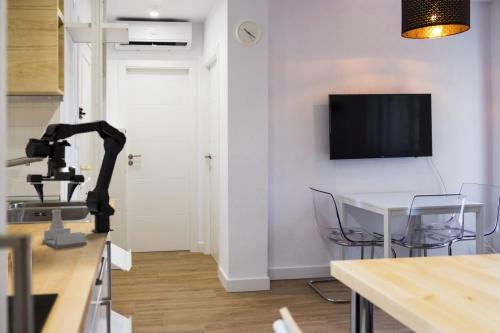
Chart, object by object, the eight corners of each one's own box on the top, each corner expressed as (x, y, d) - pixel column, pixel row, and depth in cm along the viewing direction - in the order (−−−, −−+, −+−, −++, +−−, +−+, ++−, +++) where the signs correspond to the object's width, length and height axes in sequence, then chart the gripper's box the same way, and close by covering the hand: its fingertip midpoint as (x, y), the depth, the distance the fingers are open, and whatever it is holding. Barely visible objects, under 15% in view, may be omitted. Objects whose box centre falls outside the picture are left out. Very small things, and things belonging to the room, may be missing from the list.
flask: (71, 236, 195) (70, 208, 194) (62, 239, 187) (61, 211, 187) (52, 235, 195) (51, 208, 195) (42, 239, 188) (41, 211, 188)
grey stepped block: (42, 242, 182) (42, 230, 182) (71, 238, 188) (71, 227, 188) (56, 248, 171) (56, 236, 171) (86, 244, 178) (86, 232, 177)
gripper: (35, 158, 176) (34, 205, 176) (90, 159, 187) (89, 203, 188) (26, 158, 185) (25, 203, 185) (79, 159, 196) (78, 201, 196)
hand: (55, 202), depth 188 cm, fingers open, 9 cm apart
